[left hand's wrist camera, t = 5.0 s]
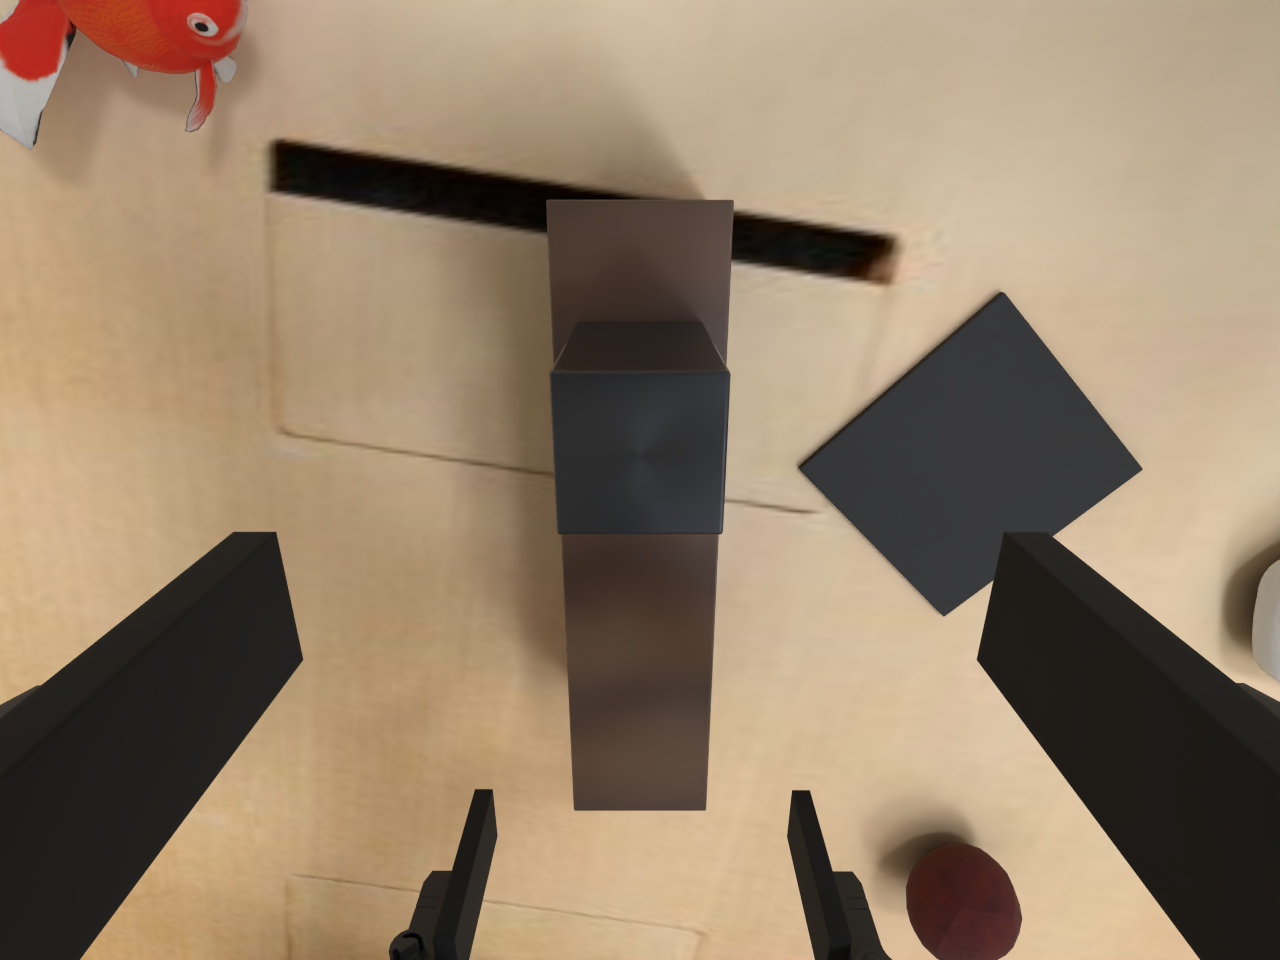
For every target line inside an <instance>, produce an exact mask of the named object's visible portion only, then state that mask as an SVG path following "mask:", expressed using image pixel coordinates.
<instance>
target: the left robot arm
mask: <svg viewBox="0 0 1280 960" xmlns="http://www.w3.org/2000/svg"><path fill="white" fill-rule="evenodd" d="M302 661H303V656H302V652H301V647H300V642H299V638H298V633H297V628H296V623H295V619H294V614H293V609H292V605H291V600H290V595H289V590H288V586H287V581H286V576H285V572H284V567H283V562H282V557H281V553H280V548H279V543H278V538H277V534H276V532H233V533H232V534H230V535H229V536H228V537H227V538H225V539H224V540H223V541H222V542H220V543H219V544H218V545H217V546H215V547H214V548H213V549H212V550H210V551H209V552H208V553H207V554H205V555H204V556H203V557H202V558H200V559H199V560H198V561H197V562H195V563H194V564H193V565H192V566H190V567H189V568H188V569H187V570H185V571H184V572H183V573H182V574H180V575H179V576H178V577H177V578H175V579H174V580H173V581H172V582H170V583H169V584H168V585H167V586H165V587H164V588H163V589H161V590H160V591H159V592H158V593H156V594H155V595H154V596H153V597H151V598H150V599H149V600H148V601H146V602H145V603H144V604H143V605H141V606H140V607H139V608H138V609H136V610H135V611H134V612H133V613H131V614H130V615H129V616H128V617H126V618H125V619H124V620H123V621H121V622H120V623H119V624H118V625H116V626H115V627H114V628H113V629H111V630H110V631H109V632H108V633H106V634H105V635H104V636H103V637H101V638H100V639H99V640H98V641H96V642H95V643H94V644H93V645H91V646H90V647H89V648H88V649H86V650H85V651H84V652H83V653H81V654H80V655H79V656H78V657H76V658H75V659H74V660H72V661H71V662H70V663H69V664H67V665H66V666H65V667H64V668H62V669H61V670H60V671H59V672H57V673H56V674H55V675H54V676H52V677H51V678H50V679H49V680H47V681H46V682H45V683H44V684H42V685H41V686H35V687H33V688H31V689H30V690H28V691H26V692H24V693H22V694H20V695H18V696H16V697H15V698H13V699H11V700H9V701H7V702H5V703H3V704H1V705H0V960H80V959H81V957H82V956H83V955H84V953H85V952H86V951H87V949H88V948H89V947H90V945H91V944H92V943H93V941H94V940H95V939H96V937H97V936H98V935H99V933H100V932H101V931H102V929H103V928H104V926H105V925H106V924H107V922H108V921H109V920H110V918H111V917H112V916H113V914H114V913H115V912H116V910H117V909H118V908H119V906H120V905H121V904H122V902H123V901H124V900H125V898H126V897H127V896H128V894H129V893H130V892H131V890H132V889H133V888H134V886H135V885H136V884H137V882H138V881H139V880H140V878H141V877H142V875H143V874H144V873H145V871H146V870H147V869H148V867H149V866H150V865H151V863H152V862H153V861H154V859H155V858H156V857H157V855H158V854H159V853H160V851H161V850H162V849H163V847H164V846H165V845H166V843H167V842H168V841H169V839H170V838H171V837H172V835H173V834H174V833H175V831H176V830H177V829H178V827H179V826H180V824H181V823H182V822H183V820H184V819H185V818H186V816H187V815H188V814H189V812H190V811H191V810H192V808H193V807H194V806H195V804H196V803H197V802H198V800H199V799H200V798H201V796H202V795H203V794H204V792H205V791H206V790H207V788H208V787H209V786H210V784H211V783H212V782H213V780H214V779H215V778H216V776H217V775H218V773H219V772H220V771H221V769H222V768H223V767H224V765H225V764H226V763H227V761H228V760H229V759H230V757H231V756H232V755H233V753H234V752H235V751H236V749H237V748H238V747H239V745H240V744H241V743H242V741H243V740H244V739H245V737H246V736H247V735H248V733H249V732H250V731H251V729H252V728H253V727H254V725H255V724H256V722H257V721H258V720H259V718H260V717H261V716H262V714H263V713H264V712H265V710H266V709H267V708H268V706H269V705H270V704H271V702H272V701H273V700H274V698H275V697H276V696H277V694H278V693H279V692H280V690H281V689H282V688H283V686H284V685H285V684H286V682H287V681H288V680H289V678H290V677H291V676H292V674H293V673H294V671H295V670H296V669H297V667H298V666H299V665H300V663H301V662H302ZM977 661H978V662H979V663H980V665H981V666H982V667H983V669H984V670H985V671H986V673H987V674H988V676H989V677H990V678H991V680H992V681H993V682H994V684H995V685H996V686H997V688H998V689H999V690H1000V692H1001V693H1002V694H1003V696H1004V697H1005V698H1006V700H1007V701H1008V702H1009V704H1010V705H1011V706H1012V708H1013V709H1014V710H1015V712H1016V713H1017V714H1018V716H1019V717H1020V718H1021V720H1022V721H1023V722H1024V724H1025V725H1026V727H1027V728H1028V729H1029V731H1030V732H1031V733H1032V735H1033V736H1034V737H1035V739H1036V740H1037V741H1038V743H1039V744H1040V745H1041V747H1042V748H1043V749H1044V751H1045V752H1046V753H1047V755H1048V756H1049V757H1050V759H1051V760H1052V761H1053V763H1054V764H1055V765H1056V767H1057V768H1058V769H1059V771H1060V772H1061V773H1062V775H1063V776H1064V778H1065V779H1066V780H1067V782H1068V783H1069V784H1070V786H1071V787H1072V788H1073V790H1074V791H1075V792H1076V794H1077V795H1078V796H1079V798H1080V799H1081V800H1082V802H1083V803H1084V804H1085V806H1086V807H1087V808H1088V810H1089V811H1090V812H1091V814H1092V815H1093V816H1094V818H1095V819H1096V820H1097V822H1098V823H1099V824H1100V826H1101V827H1102V829H1103V830H1104V831H1105V833H1106V834H1107V835H1108V837H1109V838H1110V839H1111V841H1112V842H1113V843H1114V845H1115V846H1116V847H1117V849H1118V850H1119V851H1120V853H1121V854H1122V855H1123V857H1124V858H1125V859H1126V861H1127V862H1128V863H1129V865H1130V866H1131V867H1132V869H1133V870H1134V871H1135V873H1136V874H1137V875H1138V877H1139V878H1140V880H1141V881H1142V882H1143V884H1144V885H1145V886H1146V888H1147V889H1148V890H1149V892H1150V893H1151V894H1152V896H1153V897H1154V898H1155V900H1156V901H1157V902H1158V904H1159V905H1160V906H1161V908H1162V909H1163V910H1164V912H1165V913H1166V914H1167V916H1168V917H1169V918H1170V920H1171V921H1172V922H1173V924H1174V925H1175V926H1176V928H1177V929H1178V931H1179V932H1180V933H1181V935H1182V936H1183V937H1184V939H1185V940H1186V941H1187V943H1188V944H1189V945H1190V947H1191V948H1192V949H1193V951H1194V952H1195V953H1196V955H1197V956H1198V957H1199V959H1200V960H1280V702H1279V701H1277V700H1275V699H1273V698H1271V697H1269V696H1267V695H1266V694H1264V693H1262V692H1260V691H1258V690H1256V689H1254V688H1252V687H1250V686H1248V685H1247V684H1245V683H1235V682H1234V681H1233V680H1231V679H1230V678H1229V677H1228V676H1226V675H1225V674H1224V673H1223V672H1221V671H1220V670H1219V669H1218V668H1216V667H1215V666H1214V665H1213V664H1211V663H1210V662H1209V661H1208V660H1206V659H1205V658H1204V657H1202V656H1201V655H1200V654H1199V653H1197V652H1196V651H1195V650H1194V649H1192V648H1191V647H1190V646H1189V645H1187V644H1186V643H1185V642H1184V641H1182V640H1181V639H1180V638H1179V637H1177V636H1176V635H1175V634H1174V633H1172V632H1171V631H1170V630H1169V629H1167V628H1166V627H1165V626H1164V625H1162V624H1161V623H1160V622H1159V621H1157V620H1156V619H1155V618H1154V617H1152V616H1151V615H1150V614H1149V613H1147V612H1146V611H1145V610H1144V609H1142V608H1141V607H1140V606H1139V605H1137V604H1136V603H1135V602H1134V601H1132V600H1131V599H1130V598H1129V597H1127V596H1126V595H1125V594H1124V593H1122V592H1121V591H1120V590H1119V589H1117V588H1116V587H1115V586H1113V585H1112V584H1111V583H1110V582H1108V581H1107V580H1106V579H1105V578H1103V577H1102V576H1101V575H1100V574H1098V573H1097V572H1096V571H1095V570H1093V569H1092V568H1091V567H1090V566H1088V565H1087V564H1086V563H1085V562H1083V561H1082V560H1081V559H1080V558H1078V557H1077V556H1076V555H1075V554H1073V553H1072V552H1071V551H1070V550H1068V549H1067V548H1066V547H1065V546H1063V545H1062V544H1061V543H1060V542H1058V541H1057V540H1056V539H1055V538H1053V537H1052V536H1051V535H1050V534H1048V533H1047V532H1004V534H1003V538H1002V543H1001V548H1000V553H999V557H998V562H997V567H996V572H995V576H994V581H993V586H992V590H991V595H990V600H989V605H988V609H987V614H986V619H985V623H984V628H983V633H982V638H981V642H980V647H979V652H978V656H977Z"/></svg>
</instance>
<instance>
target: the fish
mask: <svg viewBox="0 0 1280 960" xmlns="http://www.w3.org/2000/svg"><path fill="white" fill-rule="evenodd" d="M247 9H248V8H247V0H19V1H18V3H17V4H16V5H15V7H14V8H13V9H12V10H11V11H10V12H9V13H8V14H7V15H6V16H5V17H3V18H1V19H0V130H1V131H2V132H4V133H5V134H7V135H8V136H10V137H12V138H13V139H15V140H16V141H18V142H19V143H21V144H22V145H24V146H25V147H27V148H28V149H30V150H31V149H32V148H33V146H34V145H35V143H36V140H37V135H38V130H39V124H40V119H41V114H42V112H43V109H44V107H45V105H46V103H47V100H48V98H49V96H50V94H51V91H52V89H53V87H54V84H55V82H56V79H57V77H58V75H59V72H60V70H61V68H62V65H63V63H64V60H65V58H66V55H67V53H68V51H69V48H70V46H71V44H72V41H73V39H74V36H75V34H76V29H77V28H78V29H79V30H80V31H81V32H82V33H84V34H85V35H86V36H87V37H88V38H89V39H91V40H92V41H93V42H94V43H95V44H97V45H98V46H99V47H101V48H102V49H103V50H105V51H107V52H109V53H110V54H112V55H114V56H116V57H118V58H120V59H121V60H122V61H123V62H124V64H125V65H126V67H127V68H128V70H129V72H130V73H131V75H132V76H134V77H137V68H138V67H140V68H142V69H146V70H150V71H156V72H162V73H169V74H183V73H189V72H193V71H195V80H196V88H197V97H196V100H195V102H194V105H193V107H192V109H191V111H190V112H189V115H188V118H187V127H186V129H185V131H188V132H192V131H195V130H198V129H199V128H200V127H201V126H202V124H203V123H204V122H205V119H206V117H207V116H208V115H209V114H210V112H211V110H212V108H213V106H214V100H215V93H216V87H217V86H216V79H215V72H216V74H217V75H218V77H219V79H220V80H221V81H222V82H225V83H228V82H230V81H231V79H232V78H233V76H234V73H235V71H236V69H237V64H236V62H235V61H234V60H232V59H231V58H230V57H228V55H229V54H230V53H231V52H232V51H233V50H234V49H235V48H236V47H237V44H238V42H239V39H240V37H241V34H242V32H243V29H244V27H245V23H246V19H247ZM214 70H215V72H214Z"/></svg>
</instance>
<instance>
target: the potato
mask: <svg viewBox="0 0 1280 960" xmlns="http://www.w3.org/2000/svg"><path fill="white" fill-rule="evenodd" d="M906 901H907V911H908V915H909V919H910V922H911V925H912V927H913V929H914V931H915V933H916V935H917V936H918V938H919V940H920V941H921V943H922V945H923V946H924V947H925V948H926V949H927V950H928V951H929V952H930V953H931V954H933V955H934V956H935V957H936V958H937V959H939V960H998V959H1000V958H1002V957H1003V956H1005V955H1006V954H1007V953H1008V952H1009V951H1010V950H1011V949H1012V948H1013V947H1014V944H1015V942H1016V940H1017V937H1018V935H1019V932H1020V927H1021V922H1022V915H1021V909H1020V904H1019V902H1018V899H1017V896H1016V893H1015V890H1014V887H1013V885H1012V883H1011V881H1010V879H1009V876H1008V874H1007V873H1006V872H1005V870H1004V869H1003V868H1002V867H1001V866H1000V865H999V863H997V862H996V861H995V860H994V859H993V858H992V857H991V856H990V855H988V854H987V853H986V852H984V851H983V850H981V849H980V848H977V847H974V846H971V845H968V844H947V845H943V846H940V847H938V848H936V849H934V850H932V851H930V852H929V853H928V854H926V855H925V856H924V857H923V858H922V859H921V860H920V861H919V862H918V863H917V864H916V865H915V866H914V867H913V869H912V871H911V873H910V876H909V879H908V882H907V886H906Z"/></svg>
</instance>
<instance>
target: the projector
mask: <svg viewBox="0 0 1280 960" xmlns="http://www.w3.org/2000/svg"><path fill="white" fill-rule="evenodd" d="M1252 647H1253V655H1254V659H1255V661H1256V663H1257V664H1258V666H1259V667H1260V668H1261V669H1262V670H1263V671H1264V672H1265V673H1267V674H1268V675H1269V676H1271V677H1272V678H1274V679H1275V680H1277V681H1278V682H1280V559H1279V560H1278V561H1276V562H1275V563H1274V564H1273V565H1271V566H1270V567H1269V568H1268V569H1267V571H1266V572H1265V573H1264V575H1263V577H1262V579H1261V581H1260V584H1259V587H1258V594H1257V599H1256V604H1255V610H1254V616H1253V629H1252Z"/></svg>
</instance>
